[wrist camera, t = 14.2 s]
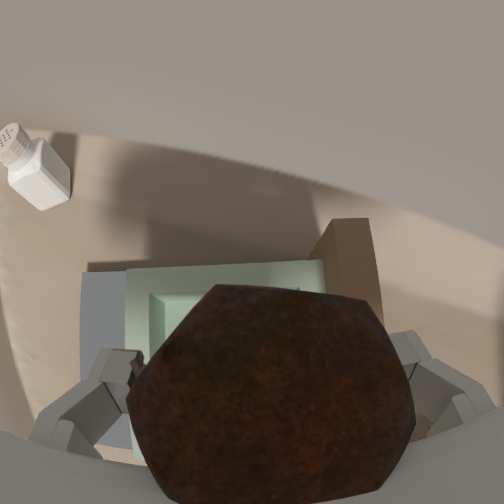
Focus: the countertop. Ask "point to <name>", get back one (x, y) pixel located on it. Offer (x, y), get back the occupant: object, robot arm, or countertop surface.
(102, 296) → the backstop board
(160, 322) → the socket block
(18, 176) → the pepper shaker
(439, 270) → the countertop surface
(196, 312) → the bolt
